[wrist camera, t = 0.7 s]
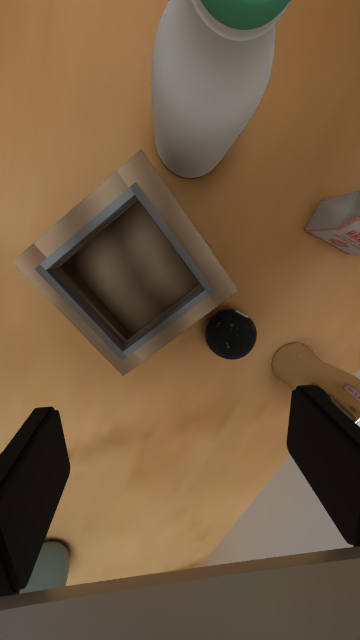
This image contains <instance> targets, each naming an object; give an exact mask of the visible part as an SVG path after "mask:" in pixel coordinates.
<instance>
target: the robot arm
mask: <svg viewBox="0 0 360 640" xmlns="http://www.w3.org/2000/svg"><path fill="white" fill-rule="evenodd" d="M287 448H288V451H289V453H290V455H291V456H292V458H293V459H294V461H295V462H296V464H297V465H298V467H299V468H300V470H301V471H302V473H303V475H304V476H305V478H306V480H307V481H308V483H309V484H310V486H311V487H312V489H313V491H314V492H315V494H316V495H317V497H318V498H319V500H320V501H321V503H322V505H323V506H324V508H325V509H326V511H327V512H328V514H329V516H330V517H331V519H332V520H333V522H334V523H335V525H336V527H337V528H338V530H339V531H340V533H341V534H342V536H343V537H344V539H345V540H346V542H347V543H348V544H350V545H353V546H354V547H351V548H342V549H334V550H327V551H319V552H311V553H304V554H296V555H289V556H280V557H273V558H265V559H258V560H250V561H243V562H236V563H228V564H221V565H213V566H206V567H199V568H191V569H184V570H177V571H170V572H162V573H155V574H148V575H141V576H134V577H127V578H120V579H113V580H106V581H99V582H92V583H85V584H78V585H71V586H64V587H58V588H52V589H46V590H40V591H34V592H28V593H22V594H19V592H20V590H21V589H24V588H25V587H26V586H27V584H28V582H29V580H30V577H31V574H32V572H33V569H34V566H35V564H36V561H37V558H38V556H39V553H40V551H41V548H42V545H43V543H44V540H45V537H46V535H47V532H48V529H49V527H50V524H51V522H52V519H53V516H54V514H55V511H56V508H57V506H58V503H59V500H60V498H61V495H62V493H63V490H64V487H65V485H66V482H67V479H68V477H69V473H70V462H69V458H68V453H67V448H66V443H65V439H64V434H63V429H62V424H61V419H60V415H59V411H58V410H54V408H53V407H41V408H35V409H34V410H33V412H32V413H31V414H30V416H29V417H28V418H27V420H26V421H25V422H24V424H23V425H22V426H21V428H20V429H19V430H18V432H17V433H16V435H15V436H14V437H13V439H12V440H11V441H10V443H9V444H8V445H7V447H6V448H5V449H4V451H3V452H2V453H1V454H0V640H360V427H359V426H358V425H357V424H356V423H355V422H354V421H353V420H351V419H350V418H349V417H348V416H347V415H346V414H345V413H344V412H343V411H341V410H340V409H339V408H338V407H337V406H336V405H335V404H334V403H332V402H331V401H330V400H329V399H328V398H327V397H326V396H325V395H324V394H322V393H321V392H320V391H319V390H318V389H317V388H316V387H315V386H313V385H300V386H297V387H296V389H295V390H293V391H292V397H291V406H290V416H289V425H288V435H287Z"/></svg>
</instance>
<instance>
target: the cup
mask: <svg viewBox="0 0 360 640" xmlns="http://www.w3.org/2000/svg"><path fill="white" fill-rule="evenodd" d="M68 572H69V553H68V550H67V548H66V547H65V546H64V545H63V544H62V543H59V542H56V541H48V542H44V543H43V545H42V548H41V551H40V553H39V556H38V558H37V561H36V564H35V566H34V569H33V572H32V574H31V577H30V580H29V582H28V584H27V586H26V587H25V588H24V589H21V590H20V592H19V594H22V593H28V592H34V591H40V590H46V589H52V588H58V587H64V586H66V582H67V577H68Z"/></svg>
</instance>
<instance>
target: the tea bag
mask: <svg viewBox="0 0 360 640" xmlns="http://www.w3.org/2000/svg"><path fill="white" fill-rule="evenodd" d="M305 231H307V232H309V233H311V234H312V235H314V236H316V237H318V238H320V239H321V240H323V241H325V242H327V243H328V244H330V245H332V246H334V247H336V248H337V249H339V250H341V251H343V252H344V253H346V254H354V255H360V192H359V191H357V192H353V193H349V194H345V195H341V196H337V197H333V198H329V199H325V200H321V202H320V203H319V205H318V207H317V209H316V211H315V212H314V214H313V216H312V218H311V219H310V221H309V223H308V225H307V226H306V228H305Z"/></svg>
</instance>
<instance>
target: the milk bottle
mask: <svg viewBox="0 0 360 640" xmlns="http://www.w3.org/2000/svg"><path fill="white" fill-rule="evenodd" d="M290 1H291V0H169V2H168V4H167V6H166V8H165V10H164V13H163V15H162V17H161V20H160V23H159V26H158V30H157V33H156V37H155V43H154V49H153V57H152V109H153V127H154V139H155V146H156V149H157V152H158V155H159V157H160V159H161V160H162V162H163V163H164V165H165V166H166V167H167V168H168V169H169V170H170V171H172V172H173V173H175V174H176V175H179V176H181V177H185V178H197V177H201V176H203V175H205V174H207V173H209V172H210V171H211V170H213V169H214V168H215V167H216V166H217V164H218V163H219V162H220V161H221V159H222V158H223V157H224V156H225V154H226V153H227V152H228V150H229V149H230V148H231V146H232V145H233V144H234V142H235V141H236V140H237V138H238V137H239V135H240V134H241V133H242V131H243V130H244V129H245V127H246V126H247V124H248V123H249V121H250V119H251V118H252V116H253V115H254V113H255V112H256V110H257V108H258V106H259V104H260V102H261V100H262V97H263V95H264V93H265V90H266V87H267V84H268V81H269V78H270V74H271V69H272V64H273V58H274V46H275V25H276V24H277V22H278V21H279V20H280V19H281V17H282V16H283V14H284V13H285V11H286V9H287V7H288V5H289V3H290Z"/></svg>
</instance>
